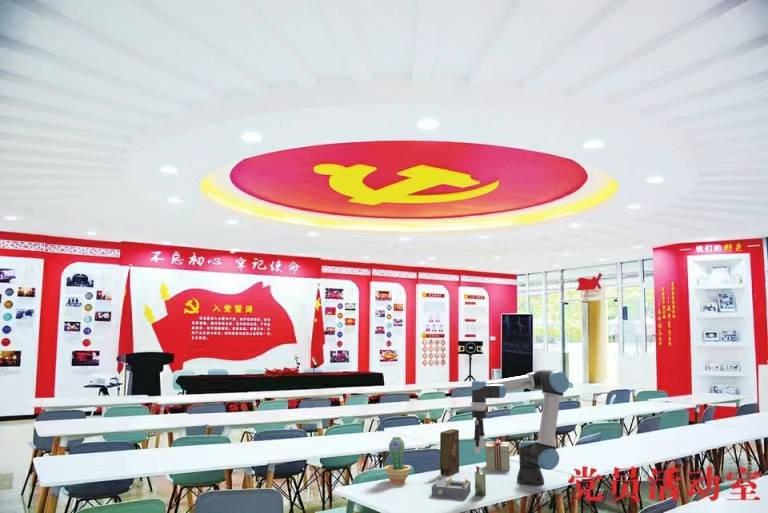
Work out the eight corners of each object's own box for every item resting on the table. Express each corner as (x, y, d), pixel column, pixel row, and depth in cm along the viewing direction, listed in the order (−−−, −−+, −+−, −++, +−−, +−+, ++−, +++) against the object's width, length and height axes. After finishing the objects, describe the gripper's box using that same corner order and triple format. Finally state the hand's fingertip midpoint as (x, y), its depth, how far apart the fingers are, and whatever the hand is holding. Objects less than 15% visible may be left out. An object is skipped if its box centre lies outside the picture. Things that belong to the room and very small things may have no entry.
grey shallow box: (470, 491, 307) (470, 476, 308) (465, 500, 289) (464, 485, 290) (437, 488, 312) (437, 474, 313) (430, 497, 295) (430, 482, 296)
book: (452, 470, 356) (451, 429, 360) (460, 471, 353) (459, 429, 357) (440, 475, 342) (440, 432, 346) (448, 476, 340) (448, 433, 343)
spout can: (486, 493, 302) (485, 466, 304) (485, 496, 297) (484, 468, 299) (476, 492, 304) (475, 465, 306) (474, 495, 298) (474, 467, 301)
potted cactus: (378, 482, 326) (378, 436, 329) (396, 477, 337) (396, 433, 340) (398, 486, 315) (398, 440, 319) (416, 481, 326) (416, 436, 330)
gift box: (480, 464, 373) (480, 437, 375) (509, 465, 370) (508, 438, 373) (481, 470, 356) (481, 442, 359) (511, 471, 354) (511, 443, 356)
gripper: (475, 407, 320) (475, 446, 316) (468, 412, 296) (468, 454, 293) (488, 407, 317) (489, 447, 314) (482, 412, 294) (483, 455, 291)
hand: (479, 450), depth 304 cm, fingers open, 13 cm apart
